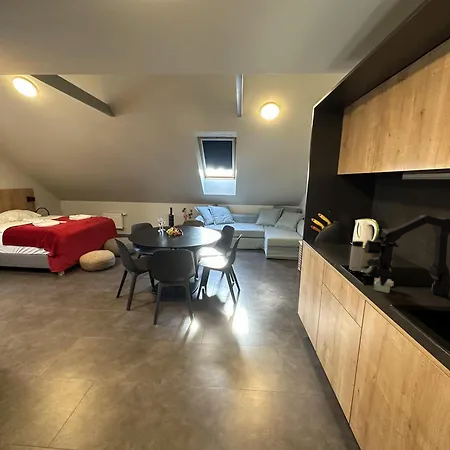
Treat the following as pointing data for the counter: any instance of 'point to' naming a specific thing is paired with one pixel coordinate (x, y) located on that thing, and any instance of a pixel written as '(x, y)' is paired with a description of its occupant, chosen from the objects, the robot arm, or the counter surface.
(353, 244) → the travel mug
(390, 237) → the robot arm
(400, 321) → the counter surface
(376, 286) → the end holder
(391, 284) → the clip
